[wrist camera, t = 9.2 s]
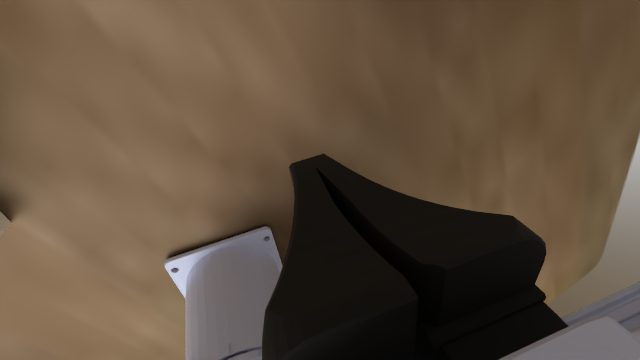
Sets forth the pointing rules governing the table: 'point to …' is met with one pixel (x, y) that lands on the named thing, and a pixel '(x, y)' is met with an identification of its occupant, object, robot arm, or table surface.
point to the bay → (3, 223)
